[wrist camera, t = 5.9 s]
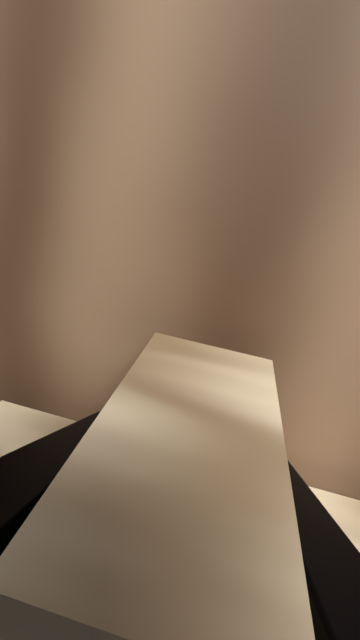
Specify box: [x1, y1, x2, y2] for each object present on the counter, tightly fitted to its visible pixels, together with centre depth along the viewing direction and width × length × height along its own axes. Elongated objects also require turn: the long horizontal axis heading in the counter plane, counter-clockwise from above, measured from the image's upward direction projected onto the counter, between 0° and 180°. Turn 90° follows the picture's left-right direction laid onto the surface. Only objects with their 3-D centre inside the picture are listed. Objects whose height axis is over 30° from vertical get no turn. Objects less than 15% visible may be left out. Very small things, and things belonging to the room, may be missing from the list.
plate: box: [0, 0, 360, 500], centre depth 10 cm, size 14×14×3 cm
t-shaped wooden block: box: [0, 332, 360, 640], centre depth 6 cm, size 12×5×6 cm, turn 80°
